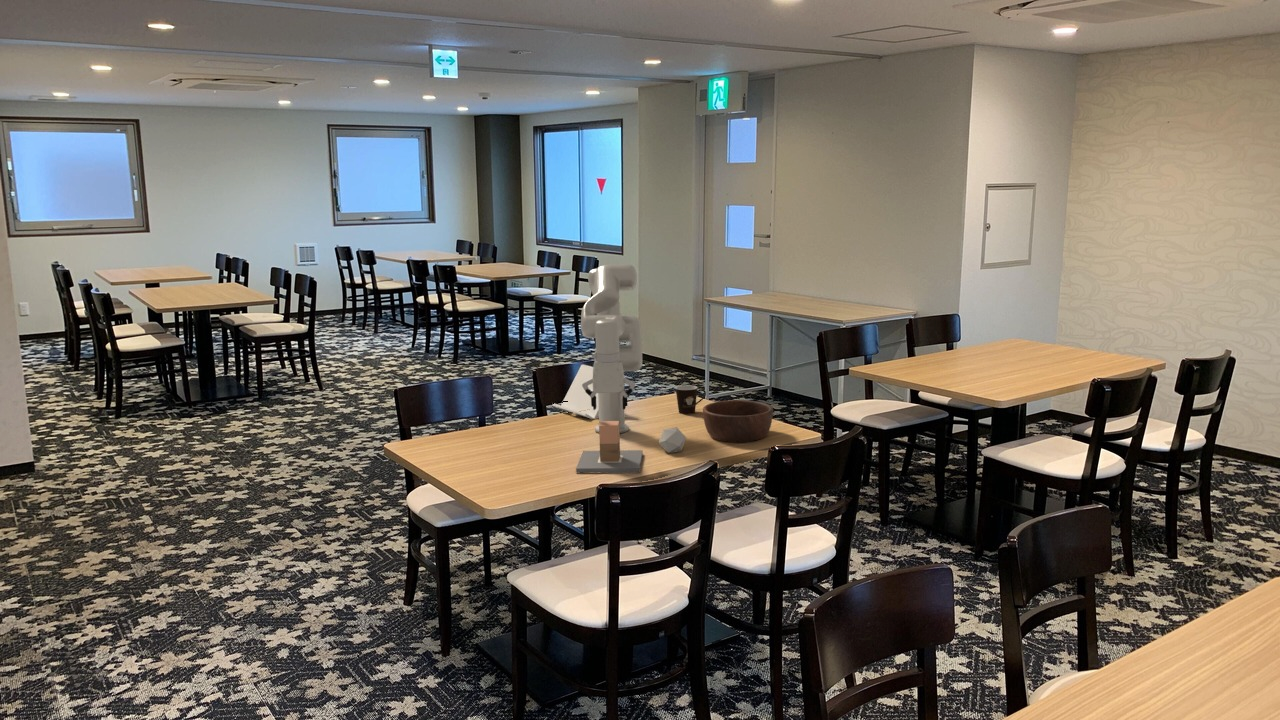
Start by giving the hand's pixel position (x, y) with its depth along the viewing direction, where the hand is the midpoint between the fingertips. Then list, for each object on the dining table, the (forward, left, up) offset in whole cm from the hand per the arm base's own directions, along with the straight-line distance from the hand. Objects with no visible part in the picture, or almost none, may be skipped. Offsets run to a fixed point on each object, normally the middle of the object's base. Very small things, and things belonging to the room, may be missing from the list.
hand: (609, 408), depth 309 cm
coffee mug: (-64, +26, -18) cm, 71 cm away
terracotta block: (+4, 0, -10) cm, 11 cm away
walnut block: (+4, 0, -16) cm, 16 cm away
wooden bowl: (-29, +43, -18) cm, 55 cm away
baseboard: (+4, 0, -18) cm, 18 cm away
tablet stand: (-68, -15, -18) cm, 72 cm away
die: (-10, +20, -18) cm, 29 cm away
